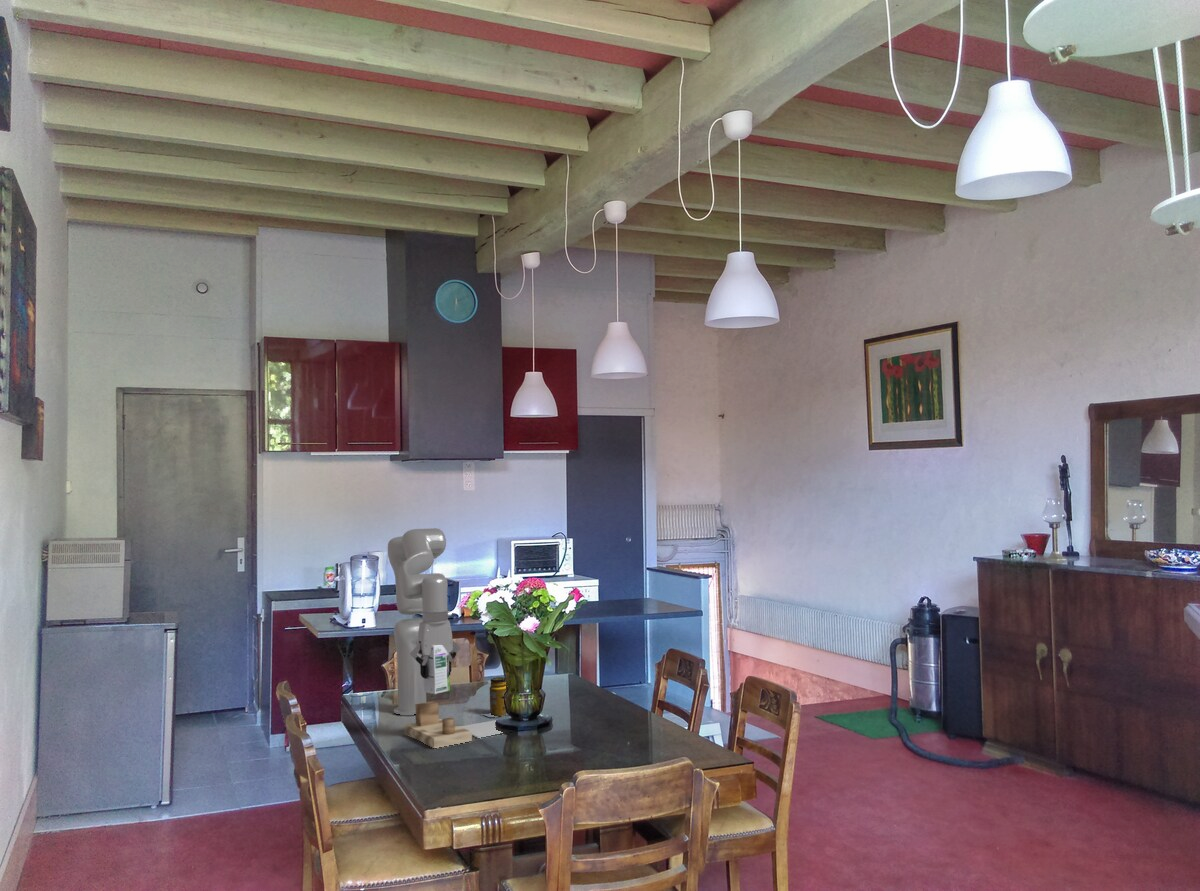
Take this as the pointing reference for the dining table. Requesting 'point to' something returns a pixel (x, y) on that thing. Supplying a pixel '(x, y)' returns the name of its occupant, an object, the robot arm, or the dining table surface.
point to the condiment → (497, 696)
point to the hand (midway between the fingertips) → (436, 675)
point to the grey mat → (482, 729)
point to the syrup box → (437, 671)
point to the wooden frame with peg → (436, 727)
